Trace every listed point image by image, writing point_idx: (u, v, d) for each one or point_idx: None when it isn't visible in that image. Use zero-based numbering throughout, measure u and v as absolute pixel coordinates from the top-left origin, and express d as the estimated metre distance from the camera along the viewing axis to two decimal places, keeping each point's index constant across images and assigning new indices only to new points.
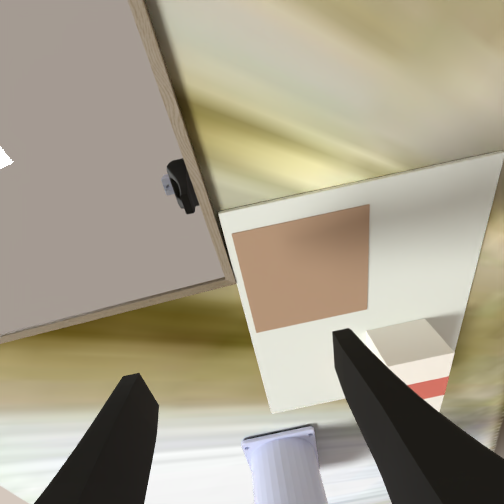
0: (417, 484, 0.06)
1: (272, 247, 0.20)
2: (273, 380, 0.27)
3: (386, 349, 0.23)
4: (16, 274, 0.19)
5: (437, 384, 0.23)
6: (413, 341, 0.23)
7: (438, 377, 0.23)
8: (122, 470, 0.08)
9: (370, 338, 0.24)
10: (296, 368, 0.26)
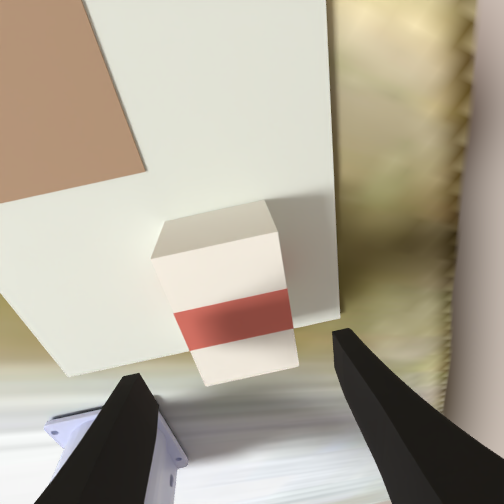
0: (417, 484, 0.06)
1: None
2: (39, 316, 0.16)
3: (171, 238, 0.12)
4: None
5: (271, 305, 0.13)
6: (223, 225, 0.13)
7: (267, 290, 0.12)
8: (122, 470, 0.08)
9: (163, 229, 0.14)
10: (68, 294, 0.16)
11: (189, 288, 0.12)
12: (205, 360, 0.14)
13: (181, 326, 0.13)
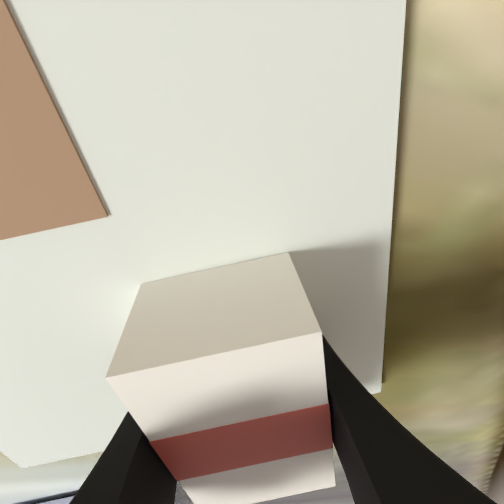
0: (370, 494, 0.06)
1: None
2: None
3: (146, 326, 0.08)
4: None
5: (302, 424, 0.08)
6: (228, 304, 0.08)
7: (298, 407, 0.08)
8: (156, 463, 0.08)
9: None
10: (9, 377, 0.11)
11: (173, 411, 0.07)
12: (200, 489, 0.10)
13: (163, 456, 0.08)
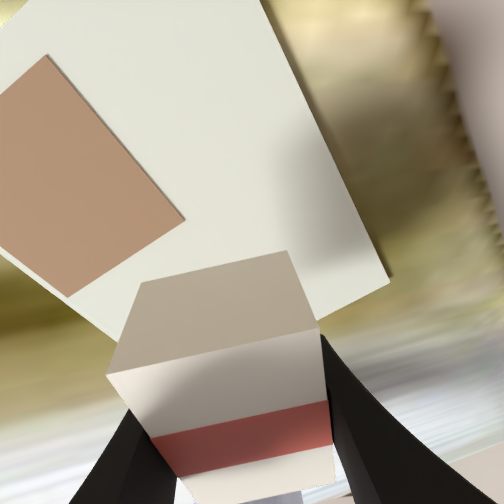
0: (370, 494, 0.06)
1: None
2: None
3: (145, 324, 0.08)
4: None
5: (302, 421, 0.08)
6: (227, 301, 0.08)
7: (297, 403, 0.08)
8: (155, 463, 0.08)
9: None
10: None
11: (173, 408, 0.08)
12: (202, 485, 0.10)
13: (164, 452, 0.08)
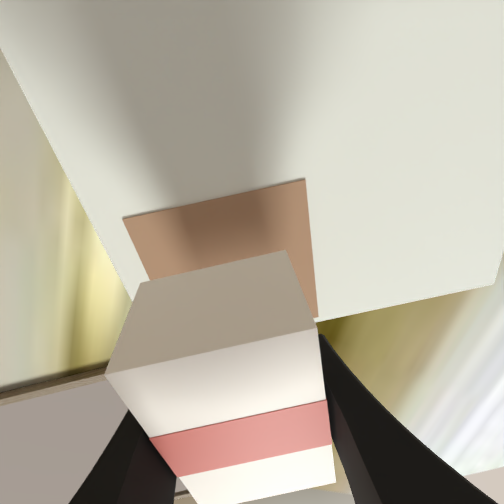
0: (371, 494, 0.06)
1: None
2: (417, 289, 0.18)
3: (144, 324, 0.08)
4: None
5: (301, 421, 0.08)
6: (225, 301, 0.08)
7: (295, 403, 0.08)
8: (155, 463, 0.08)
9: None
10: (404, 263, 0.17)
11: (172, 407, 0.08)
12: (201, 485, 0.10)
13: (163, 452, 0.09)
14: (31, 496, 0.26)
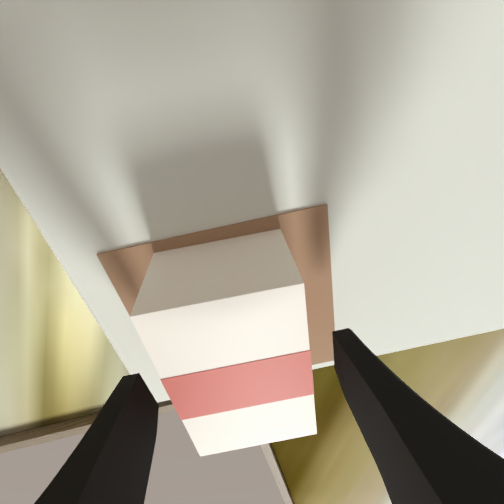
0: (417, 484, 0.06)
1: None
2: (454, 327, 0.15)
3: (160, 282, 0.09)
4: (227, 496, 0.23)
5: (288, 369, 0.10)
6: (229, 266, 0.10)
7: (284, 352, 0.10)
8: (122, 470, 0.08)
9: None
10: (441, 299, 0.14)
11: (182, 351, 0.09)
12: (200, 429, 0.11)
13: (171, 394, 0.10)
14: None
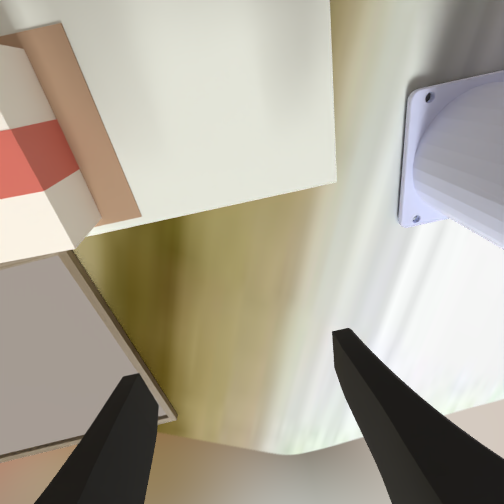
0: (417, 484, 0.06)
1: None
2: (248, 184, 0.17)
3: None
4: (98, 391, 0.24)
5: (0, 153, 0.11)
6: None
7: None
8: (122, 470, 0.08)
9: None
10: (222, 149, 0.15)
11: None
12: None
13: None
14: None
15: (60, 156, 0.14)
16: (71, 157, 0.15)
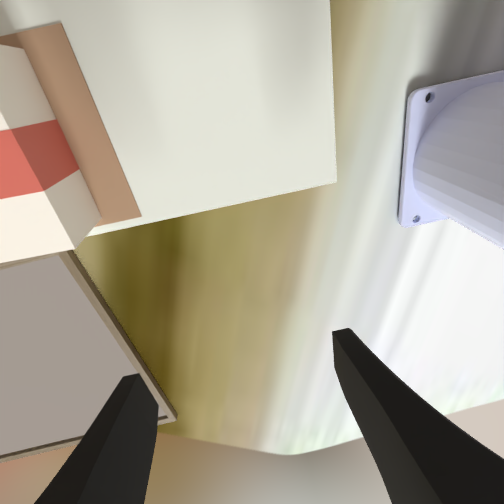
0: (417, 484, 0.06)
1: None
2: (248, 184, 0.17)
3: None
4: (98, 392, 0.24)
5: (0, 153, 0.11)
6: None
7: None
8: (122, 470, 0.08)
9: None
10: (222, 149, 0.15)
11: None
12: None
13: None
14: None
15: (60, 156, 0.14)
16: (71, 157, 0.15)
